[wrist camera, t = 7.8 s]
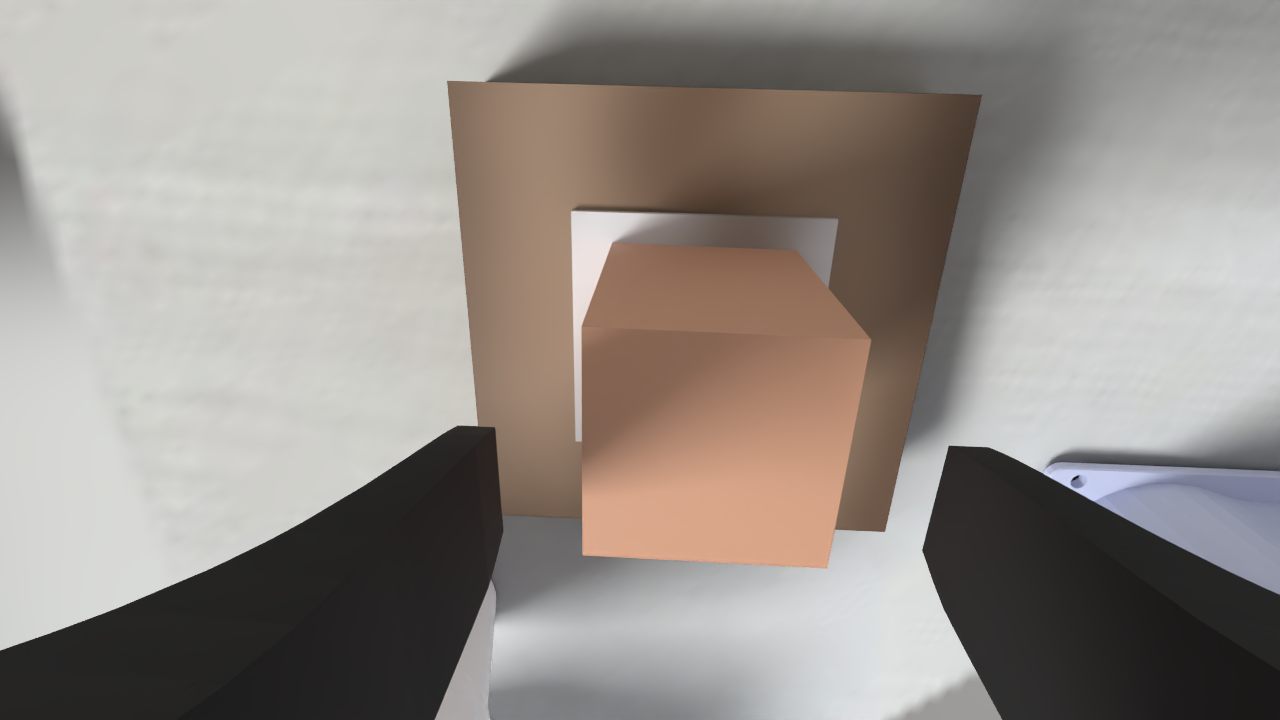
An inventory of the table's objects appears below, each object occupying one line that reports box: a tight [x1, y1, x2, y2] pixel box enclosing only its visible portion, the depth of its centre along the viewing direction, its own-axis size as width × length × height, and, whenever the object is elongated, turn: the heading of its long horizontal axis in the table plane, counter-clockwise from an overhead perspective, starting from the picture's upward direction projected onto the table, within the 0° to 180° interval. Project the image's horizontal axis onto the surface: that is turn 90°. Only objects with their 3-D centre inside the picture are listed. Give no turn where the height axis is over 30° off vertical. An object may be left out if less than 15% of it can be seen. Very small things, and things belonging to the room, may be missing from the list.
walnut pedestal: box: [447, 81, 982, 532], centre depth 18 cm, size 12×12×3 cm
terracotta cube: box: [581, 243, 871, 568], centre depth 13 cm, size 4×4×6 cm
